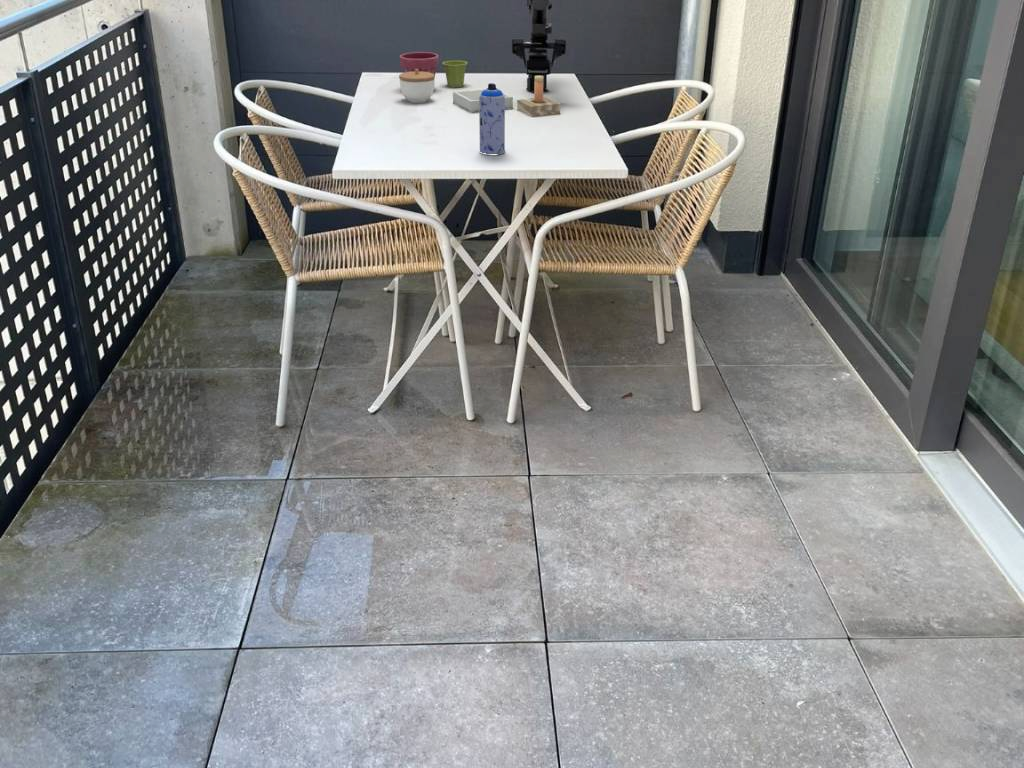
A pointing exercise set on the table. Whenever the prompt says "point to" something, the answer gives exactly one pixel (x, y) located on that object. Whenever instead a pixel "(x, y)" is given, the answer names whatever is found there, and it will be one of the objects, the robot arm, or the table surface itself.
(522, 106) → the hitch block
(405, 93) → the lidded bowl
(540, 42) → the robot arm
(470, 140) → the table surface
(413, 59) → the plant pot
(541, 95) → the pin
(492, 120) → the aerosol can
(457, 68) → the plant pot
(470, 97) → the tray
